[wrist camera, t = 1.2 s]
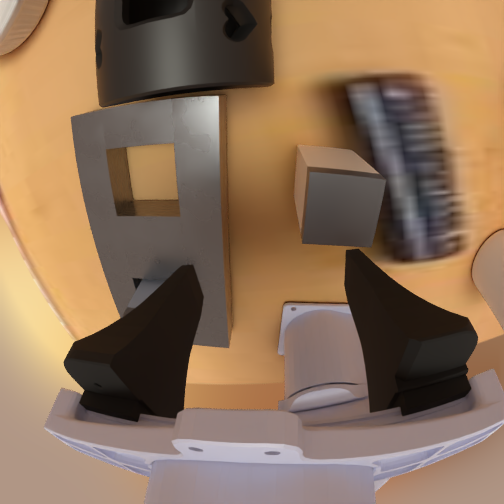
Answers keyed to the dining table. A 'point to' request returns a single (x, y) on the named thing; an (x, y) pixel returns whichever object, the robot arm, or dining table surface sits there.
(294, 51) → the dining table surface
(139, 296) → the twin plug
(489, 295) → the pill bottle
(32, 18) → the ramekin
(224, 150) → the block
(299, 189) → the plug
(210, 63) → the muzzle brake
